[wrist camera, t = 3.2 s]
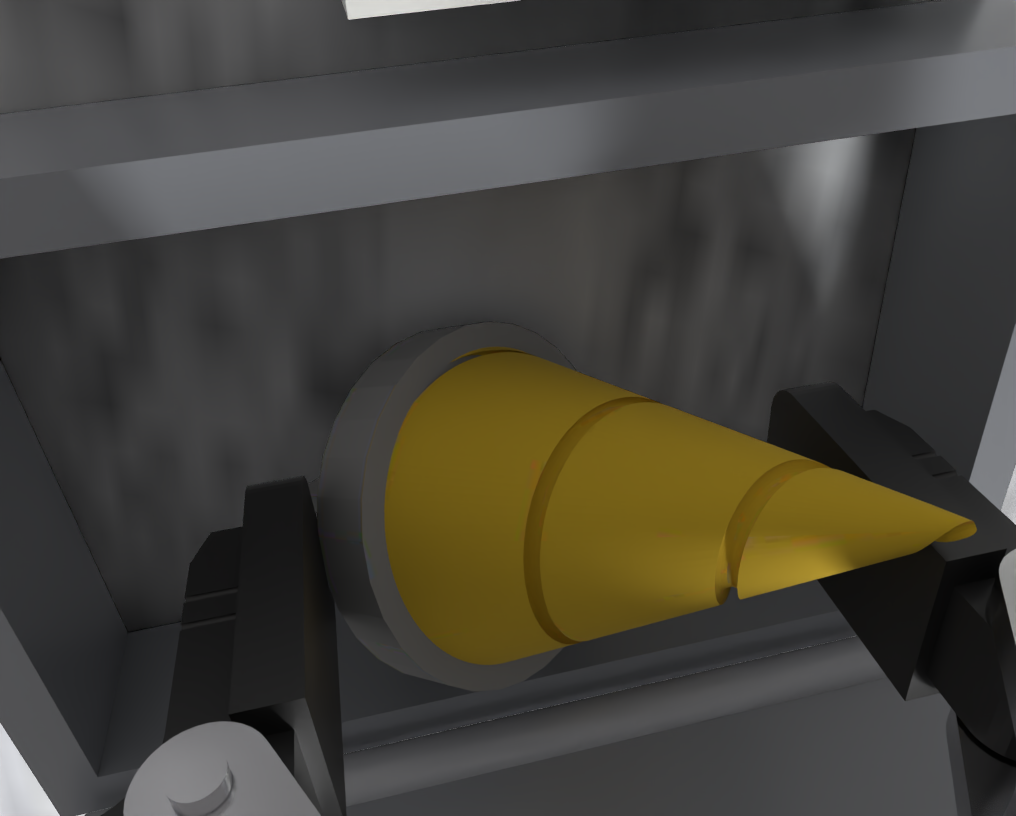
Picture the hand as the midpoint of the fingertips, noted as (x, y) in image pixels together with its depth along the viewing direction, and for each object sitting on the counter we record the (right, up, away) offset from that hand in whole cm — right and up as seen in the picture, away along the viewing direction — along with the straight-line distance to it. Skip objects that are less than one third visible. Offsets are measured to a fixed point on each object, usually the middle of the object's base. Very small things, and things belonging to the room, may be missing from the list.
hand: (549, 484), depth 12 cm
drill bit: (-1, +2, +3) cm, 3 cm away
